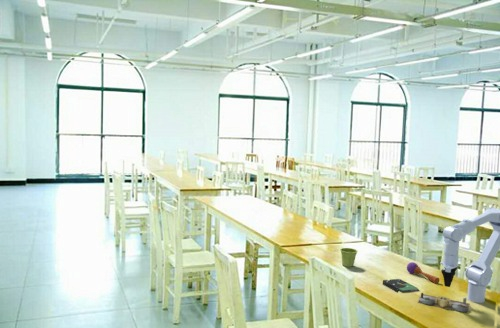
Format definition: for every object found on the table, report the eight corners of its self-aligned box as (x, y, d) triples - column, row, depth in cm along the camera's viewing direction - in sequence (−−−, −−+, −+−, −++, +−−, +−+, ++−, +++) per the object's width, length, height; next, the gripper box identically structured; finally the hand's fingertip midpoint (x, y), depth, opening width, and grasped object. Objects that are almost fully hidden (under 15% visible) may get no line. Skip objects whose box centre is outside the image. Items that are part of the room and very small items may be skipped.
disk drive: (381, 285, 230) (401, 296, 217) (382, 280, 230) (402, 290, 216) (399, 283, 234) (419, 294, 220) (399, 278, 234) (420, 288, 220)
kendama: (432, 277, 233) (404, 262, 251) (432, 287, 235) (404, 272, 253) (441, 273, 236) (412, 259, 254) (441, 284, 237) (413, 269, 255)
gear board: (422, 296, 216) (422, 286, 216) (469, 306, 207) (470, 296, 206) (417, 305, 205) (418, 295, 204) (467, 316, 195) (468, 305, 195)
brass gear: (436, 301, 207) (437, 295, 207) (450, 304, 204) (451, 298, 204) (435, 305, 202) (435, 299, 202) (448, 308, 199) (449, 302, 199)
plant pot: (356, 269, 253) (357, 253, 252) (339, 267, 255) (340, 251, 254) (356, 264, 262) (357, 248, 261) (339, 262, 264) (340, 247, 263)
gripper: (443, 248, 214) (440, 277, 215) (439, 256, 201) (436, 286, 202) (460, 251, 210) (457, 280, 211) (456, 259, 198) (454, 290, 199)
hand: (448, 284), depth 207 cm, fingers open, 7 cm apart
